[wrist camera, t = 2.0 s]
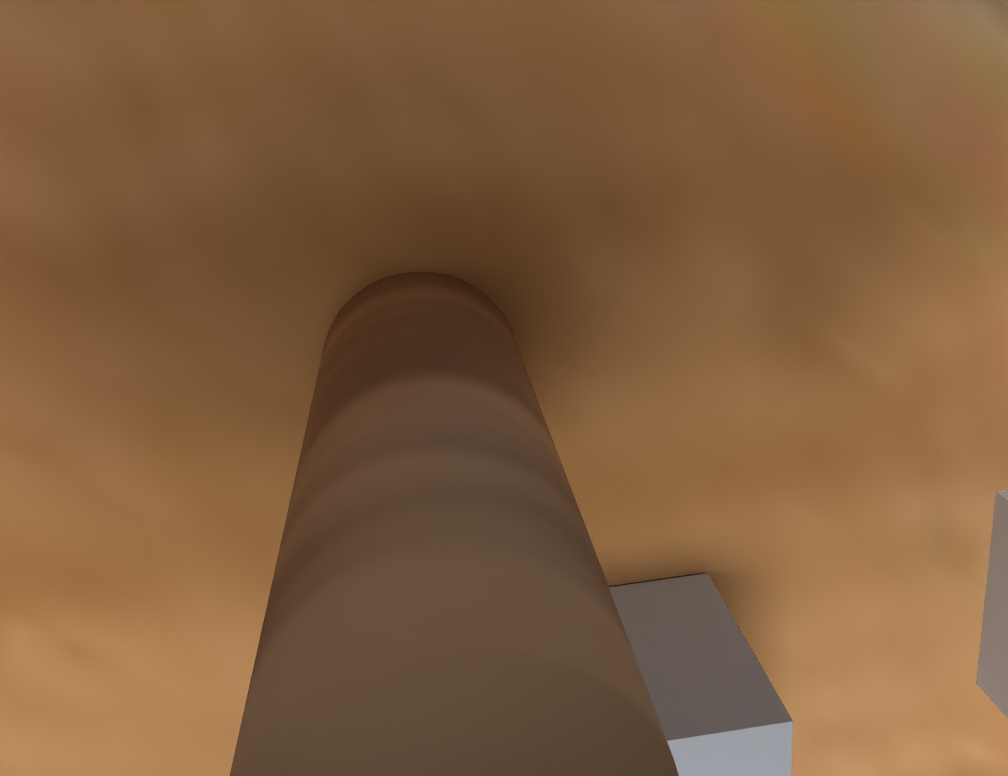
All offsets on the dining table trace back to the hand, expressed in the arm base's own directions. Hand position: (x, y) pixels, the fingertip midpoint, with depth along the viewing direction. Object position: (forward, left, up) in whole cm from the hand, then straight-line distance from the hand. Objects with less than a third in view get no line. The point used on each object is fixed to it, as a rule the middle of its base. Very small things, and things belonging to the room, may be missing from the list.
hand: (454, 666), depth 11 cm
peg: (0, 0, -9) cm, 9 cm away
